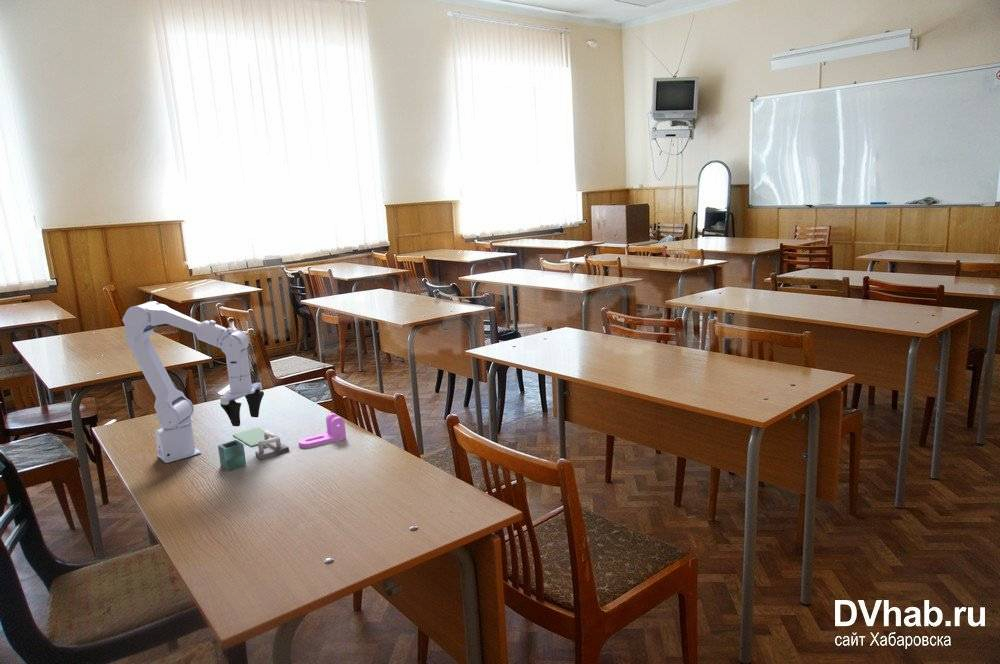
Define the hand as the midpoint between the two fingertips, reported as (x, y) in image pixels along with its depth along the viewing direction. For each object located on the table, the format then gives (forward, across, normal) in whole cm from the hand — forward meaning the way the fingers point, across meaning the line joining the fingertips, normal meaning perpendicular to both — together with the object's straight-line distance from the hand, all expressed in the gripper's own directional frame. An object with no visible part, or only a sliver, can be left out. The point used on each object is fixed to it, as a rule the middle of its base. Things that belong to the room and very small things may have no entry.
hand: (245, 421), depth 188 cm
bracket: (+9, +12, -16) cm, 22 cm away
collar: (+9, -10, -3) cm, 14 cm away
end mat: (+9, +10, +6) cm, 15 cm away
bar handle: (+9, +2, -5) cm, 10 cm away
